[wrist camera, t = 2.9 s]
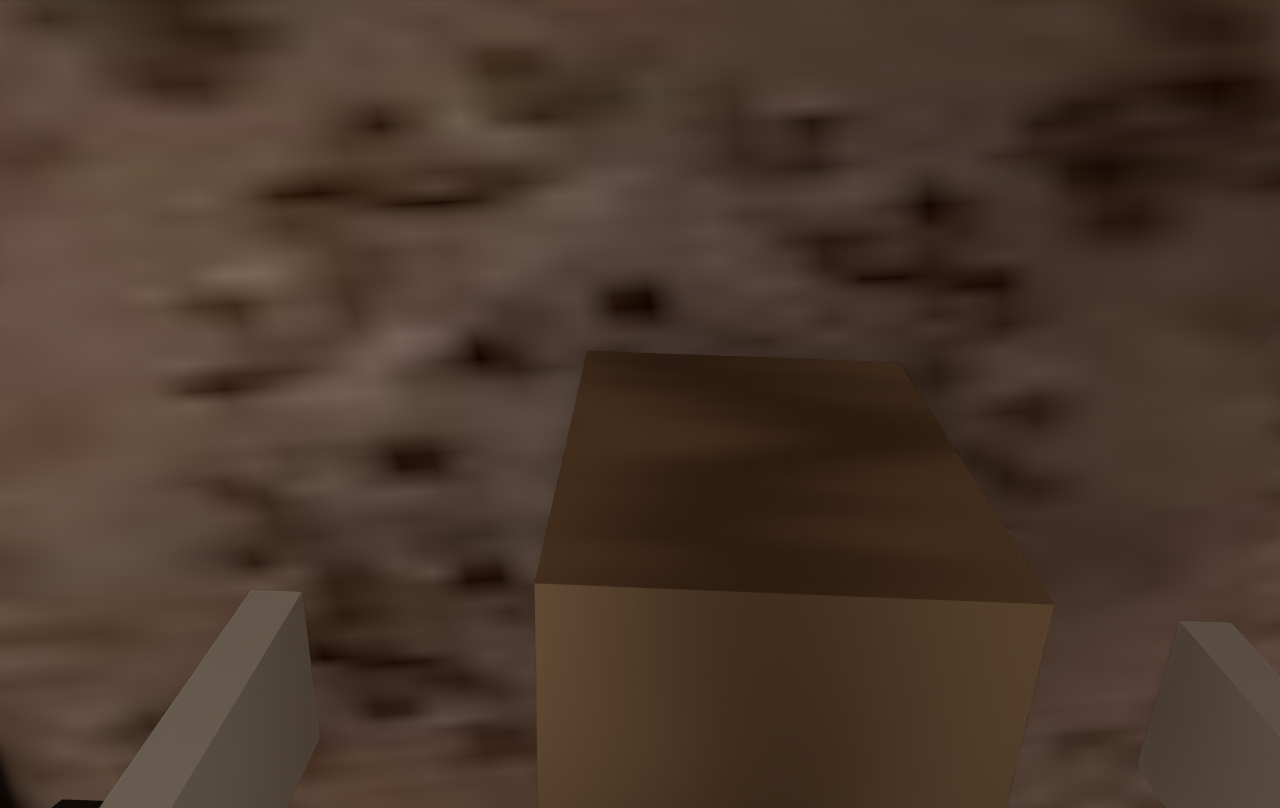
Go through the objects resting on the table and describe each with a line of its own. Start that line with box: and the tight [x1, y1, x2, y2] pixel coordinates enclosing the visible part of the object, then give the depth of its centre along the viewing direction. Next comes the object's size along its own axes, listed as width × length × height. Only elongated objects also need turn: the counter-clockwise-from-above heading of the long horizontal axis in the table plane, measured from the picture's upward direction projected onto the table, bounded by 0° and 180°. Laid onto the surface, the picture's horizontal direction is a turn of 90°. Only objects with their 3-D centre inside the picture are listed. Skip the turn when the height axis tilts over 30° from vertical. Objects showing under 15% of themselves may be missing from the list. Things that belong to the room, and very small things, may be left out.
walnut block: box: [535, 351, 1055, 808], centre depth 16 cm, size 6×6×8 cm
